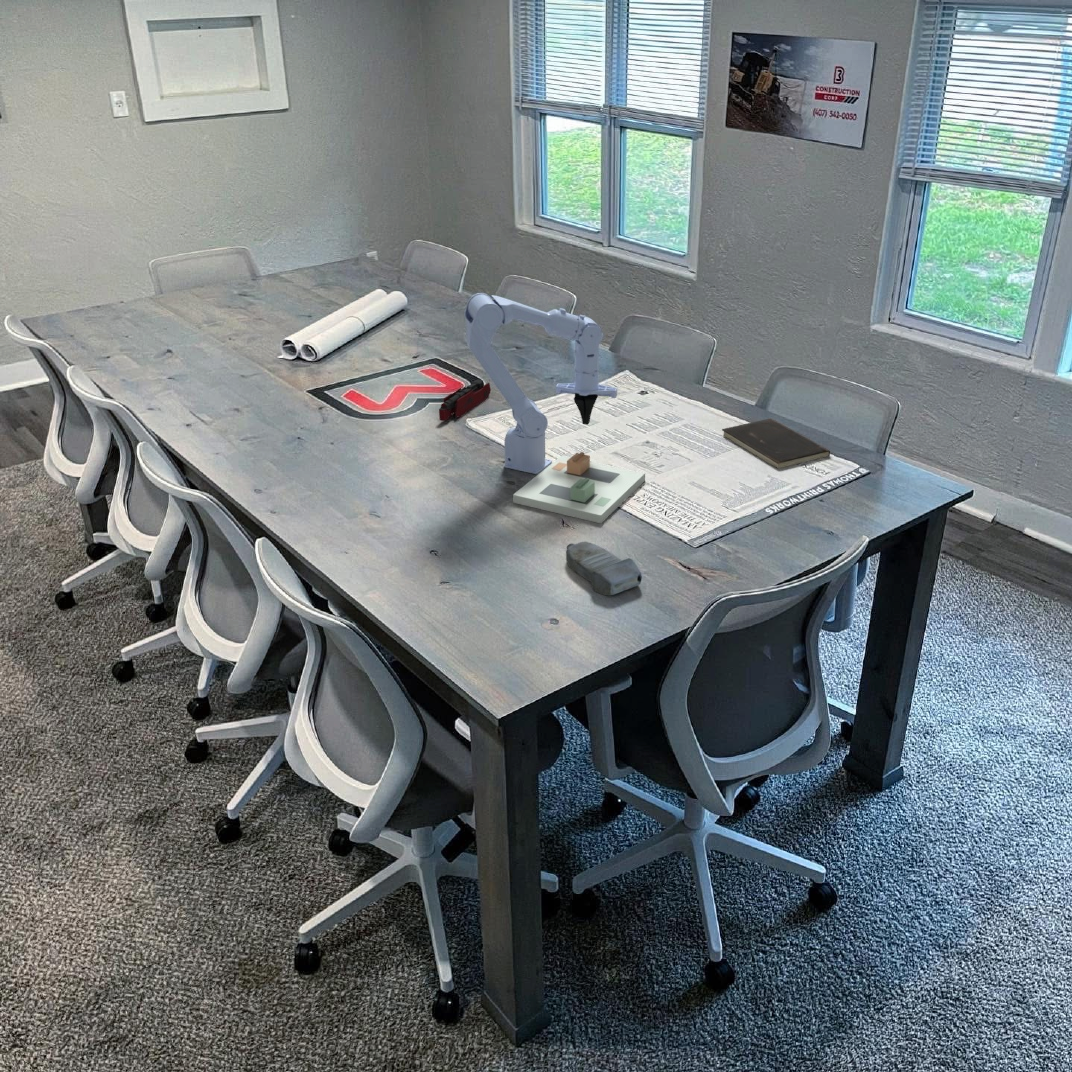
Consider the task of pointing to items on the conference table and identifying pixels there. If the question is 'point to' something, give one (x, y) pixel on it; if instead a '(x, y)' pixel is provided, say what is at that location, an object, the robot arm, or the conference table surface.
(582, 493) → the tab green
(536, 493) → the switch board
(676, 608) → the conference table surface
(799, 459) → the hardcover book
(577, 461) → the tab terracotta
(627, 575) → the handheld device
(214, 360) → the conference table surface
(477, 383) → the mechanical component
